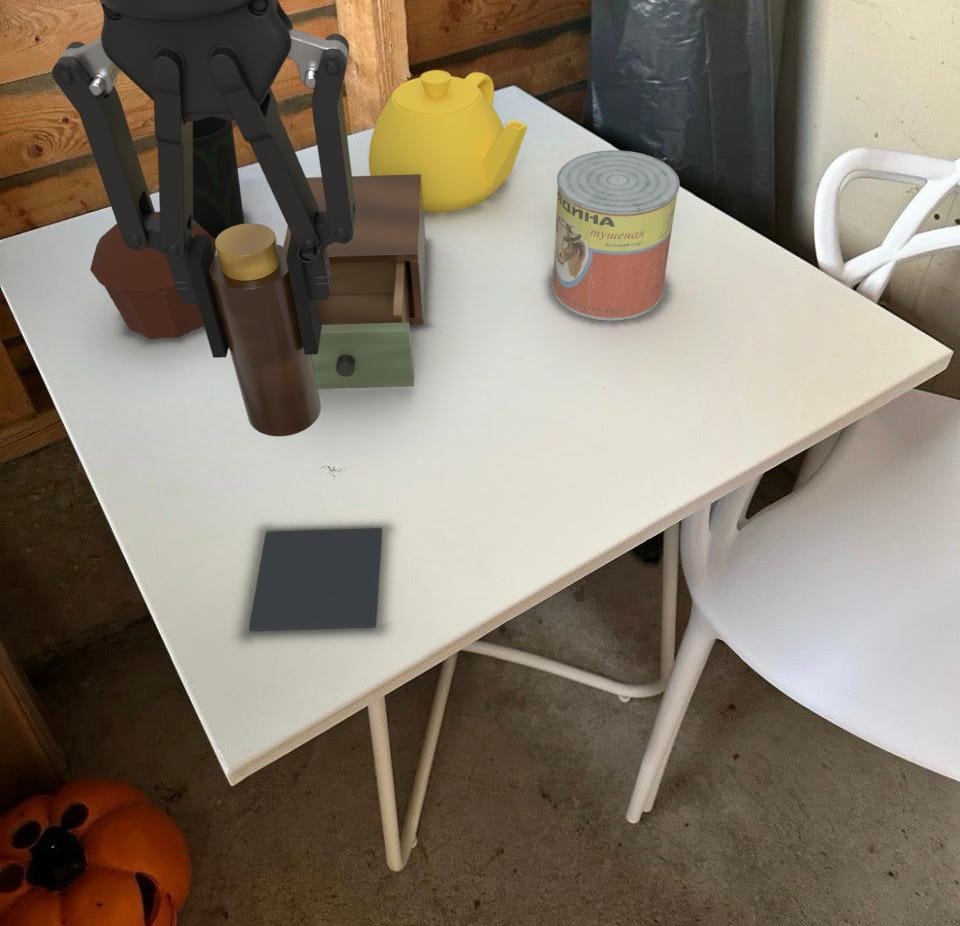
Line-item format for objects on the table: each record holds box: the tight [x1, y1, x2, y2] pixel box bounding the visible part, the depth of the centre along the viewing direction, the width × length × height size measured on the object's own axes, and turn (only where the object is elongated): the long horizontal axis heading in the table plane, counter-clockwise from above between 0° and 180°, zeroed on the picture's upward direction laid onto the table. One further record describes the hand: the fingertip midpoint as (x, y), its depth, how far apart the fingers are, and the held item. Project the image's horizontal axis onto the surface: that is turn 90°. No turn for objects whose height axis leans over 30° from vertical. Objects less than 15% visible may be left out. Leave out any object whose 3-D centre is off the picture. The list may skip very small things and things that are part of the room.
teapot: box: [368, 69, 528, 213], centre depth 105 cm, size 20×19×13 cm
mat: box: [248, 527, 383, 632], centre depth 69 cm, size 9×9×1 cm
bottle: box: [209, 222, 322, 437], centre depth 54 cm, size 5×5×13 cm
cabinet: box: [282, 174, 427, 326], centre depth 93 cm, size 15×13×8 cm
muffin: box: [89, 211, 217, 340], centre depth 89 cm, size 12×11×10 cm
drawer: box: [311, 261, 415, 390], centre depth 85 cm, size 15×11×6 cm
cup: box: [193, 117, 245, 240], centre depth 100 cm, size 8×8×12 cm
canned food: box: [551, 149, 681, 322], centre depth 90 cm, size 11×11×12 cm
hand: (268, 340), depth 55 cm, fingers closed on bottle, 5 cm apart
